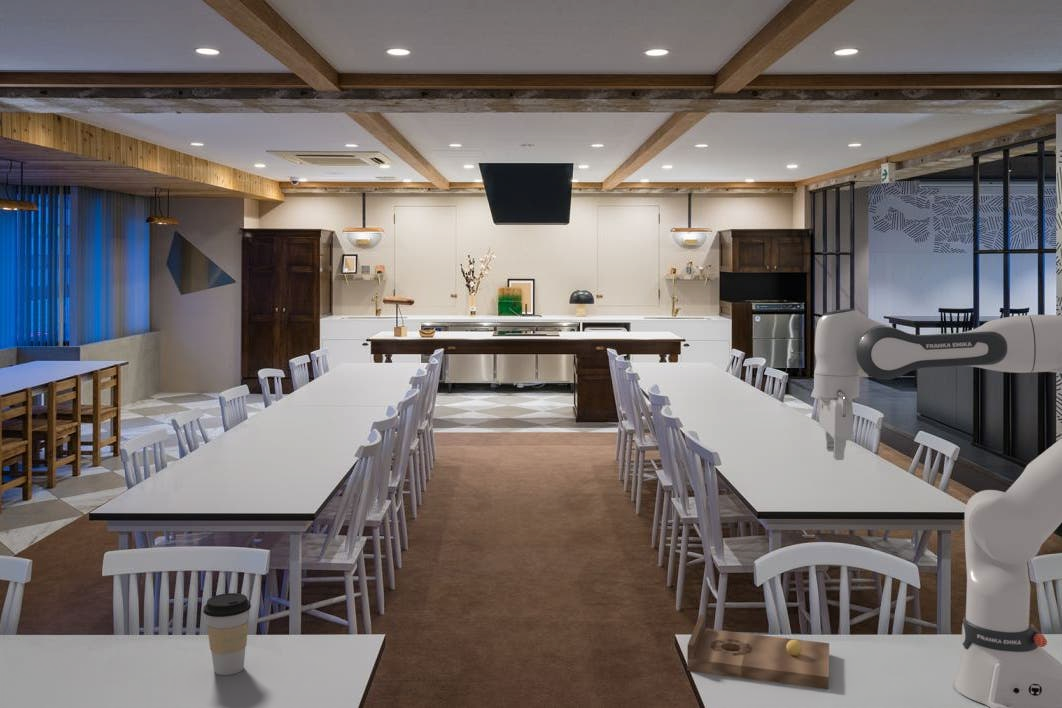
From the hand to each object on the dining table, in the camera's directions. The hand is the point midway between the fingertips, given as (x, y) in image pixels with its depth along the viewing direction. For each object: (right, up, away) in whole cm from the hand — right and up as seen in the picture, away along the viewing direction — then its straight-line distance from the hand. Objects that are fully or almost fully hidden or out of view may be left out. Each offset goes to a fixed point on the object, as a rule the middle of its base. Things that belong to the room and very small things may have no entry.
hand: (834, 455), depth 186 cm
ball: (-7, -41, +4) cm, 42 cm away
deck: (-14, -45, +7) cm, 47 cm away
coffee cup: (-126, -45, +3) cm, 134 cm away
